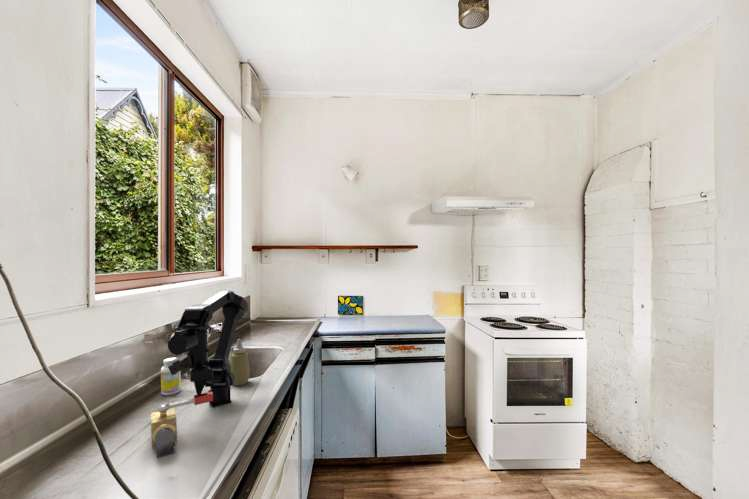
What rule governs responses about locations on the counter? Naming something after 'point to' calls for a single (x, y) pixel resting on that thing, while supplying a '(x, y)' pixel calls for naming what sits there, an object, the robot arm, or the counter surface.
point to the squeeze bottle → (240, 364)
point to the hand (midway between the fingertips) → (198, 394)
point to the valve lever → (187, 401)
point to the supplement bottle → (169, 379)
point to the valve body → (164, 431)
